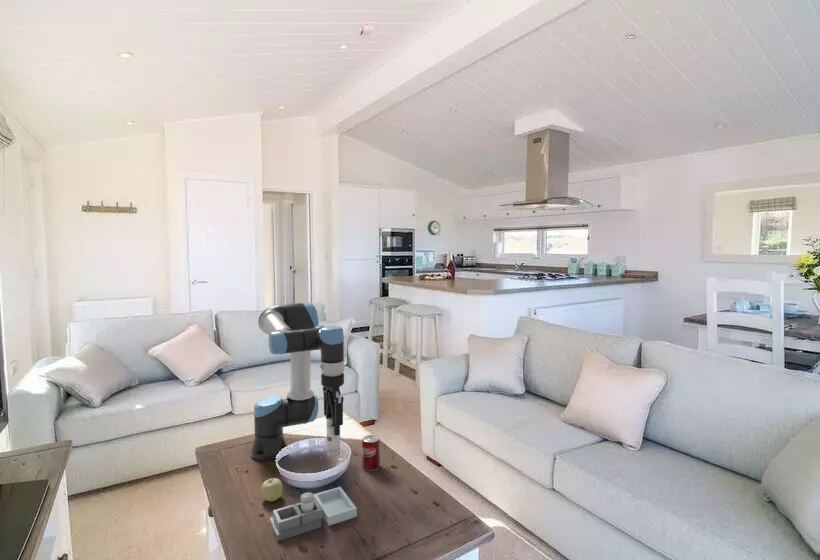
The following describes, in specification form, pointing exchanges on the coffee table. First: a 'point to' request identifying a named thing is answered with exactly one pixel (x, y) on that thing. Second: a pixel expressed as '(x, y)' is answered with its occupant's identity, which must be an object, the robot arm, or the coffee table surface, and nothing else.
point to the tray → (335, 506)
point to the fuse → (332, 449)
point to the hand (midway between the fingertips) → (333, 440)
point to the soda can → (371, 452)
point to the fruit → (272, 489)
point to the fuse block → (296, 518)
